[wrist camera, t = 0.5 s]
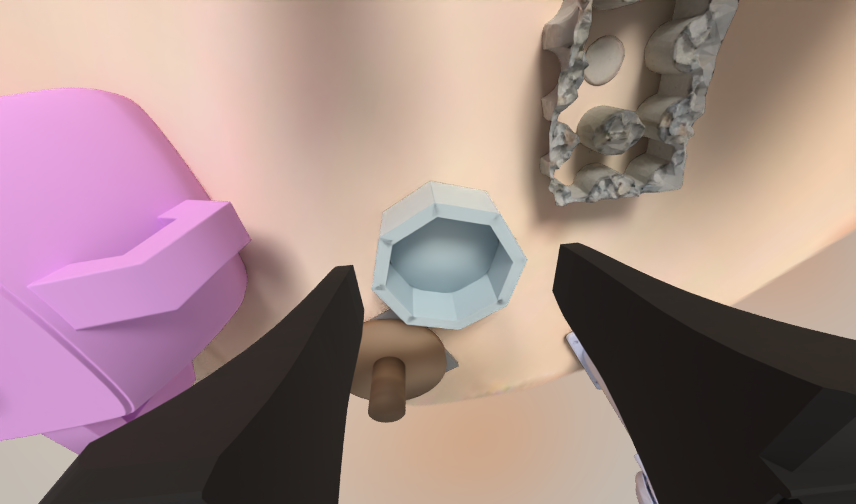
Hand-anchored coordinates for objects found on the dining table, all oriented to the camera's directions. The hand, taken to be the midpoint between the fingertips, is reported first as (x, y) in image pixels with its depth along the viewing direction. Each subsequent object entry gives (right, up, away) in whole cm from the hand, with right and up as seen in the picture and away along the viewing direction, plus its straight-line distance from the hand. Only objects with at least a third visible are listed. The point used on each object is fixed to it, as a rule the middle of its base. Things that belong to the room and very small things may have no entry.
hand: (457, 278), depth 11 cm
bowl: (0, +1, +11) cm, 11 cm away
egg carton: (+9, +10, +7) cm, 15 cm away
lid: (-4, -9, +16) cm, 19 cm away
